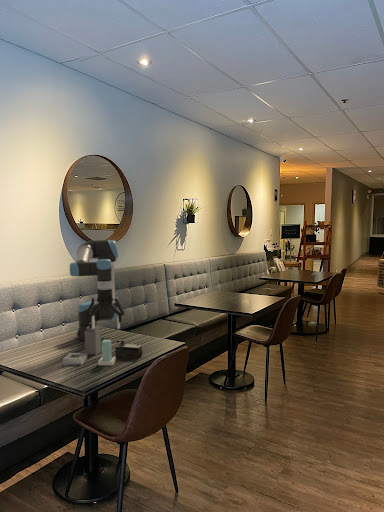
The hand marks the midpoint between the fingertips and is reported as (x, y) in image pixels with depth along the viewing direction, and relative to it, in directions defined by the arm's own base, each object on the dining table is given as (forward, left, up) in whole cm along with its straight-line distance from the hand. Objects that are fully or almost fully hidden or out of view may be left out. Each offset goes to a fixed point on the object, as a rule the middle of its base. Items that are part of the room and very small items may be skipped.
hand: (106, 328), depth 212 cm
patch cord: (-13, -20, -19) cm, 31 cm away
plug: (0, 0, -19) cm, 19 cm away
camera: (-11, +9, -20) cm, 25 cm away
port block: (-2, -18, -19) cm, 26 cm away
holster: (0, 0, -19) cm, 19 cm away
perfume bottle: (-17, -13, -20) cm, 29 cm away
